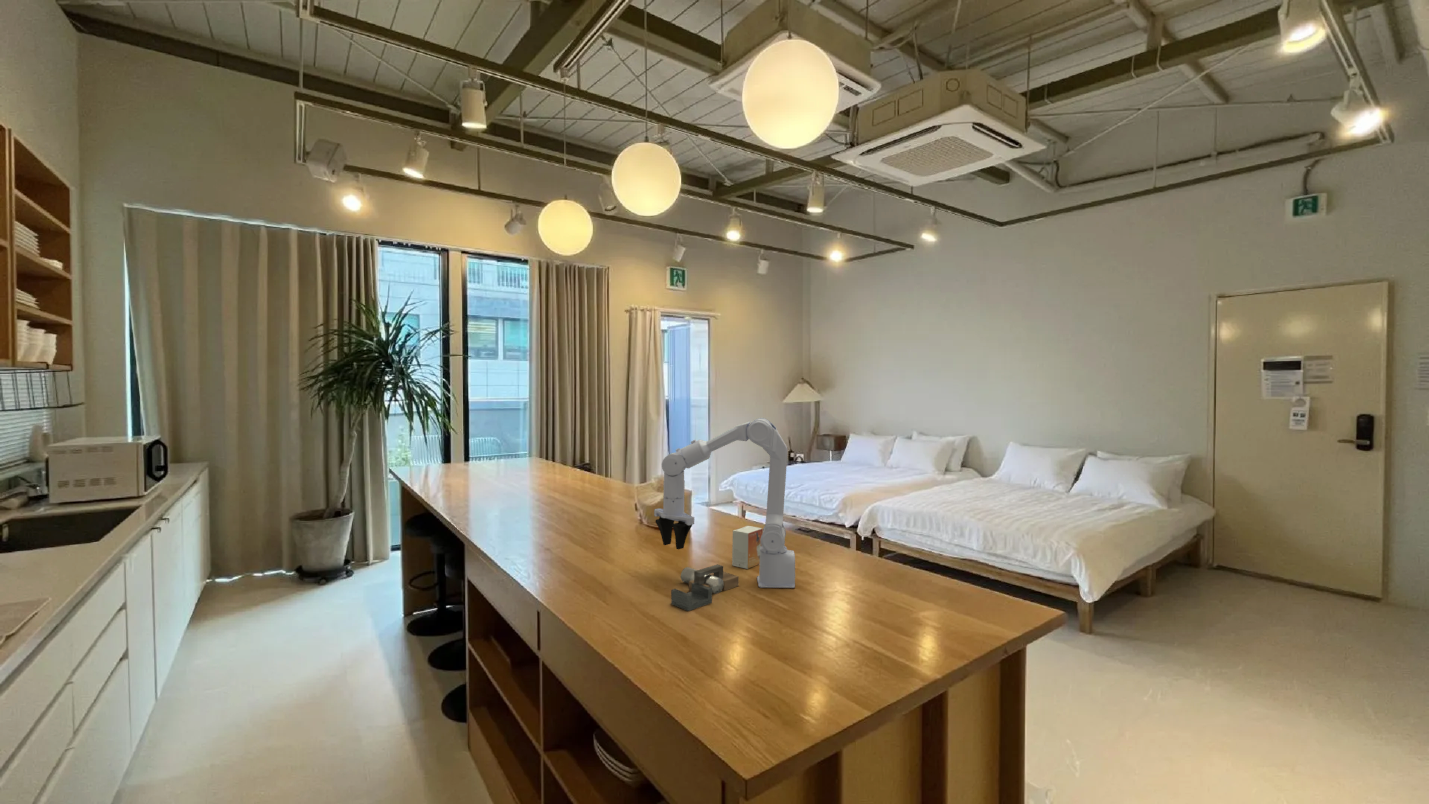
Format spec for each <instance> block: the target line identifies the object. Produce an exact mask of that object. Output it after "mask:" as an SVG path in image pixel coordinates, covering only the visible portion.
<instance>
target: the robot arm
mask: <svg viewBox="0 0 1429 804" xmlns="http://www.w3.org/2000/svg"><path fill="white" fill-rule="evenodd" d="M748 440H750V442H752V443H753V444H756V445H758V446H759V447H761V448H762V449H763V450H764V451H765V452H766V453H767V454H768V455H769V468H768V469H769V470H768V481H767V482H768V485H767V486H768V487H767V499H766V500H767V501H766V512H765V514H766V515H765V525H764V526H763V528H762V529H763V533H762V536H761V540H760V541H761V545H762V546H761V547H760V564H759V569H758V570H759V573H758V574H759V575H758V576H756V581H757V584H758V585H757V586H758V587H759V588H769V589H770V588H774V589H775V588H776V589H777V588H778V589H779V588H780V589H782V588H783V589H786V588H787V589H790V588H791V589H794V588H796V554H795V551H794V550H791V549H788V548H787V546H786V545H785V544H786V540H785V539H786V535H787V532H786V528H785V526H784V509H785V496H786V494H785V493H786V482H787V481H786V480H787V465H788V464H787V463H788V453H789V452H788V445H787V444H786V443H785V440H784V439H783V437H782V436H781V434H780V432H779V430H778V428H777V426H776V425H775V424H773V422H771V421H770V420H768V419H767V418H764V417H758V418H756V419H753V421H747V422H744V423H740V424H737V425H735V426H733V427H732V428H730V429H728V430H726V431H724V432H722V433H720V434H719V435H716V436H715V437H713V438H711V439H709V440H707V441H705V440H703V439H692V440H691V441H690V444H687V445H686V446H684V447H682V448H680V447H678V448H676V449H675V452H672V453H669V454H667V455H666V456H665V457H664V458H663V459H662V462H661V468H662V471H663V473H664V474H663V495H662V496H663V499H662V500H663V507H662V508H654V511H653V513H654V514H653V515H654V517H656V519H655V520H654V521H655V524H656V526H657V528H658V530H659V533H660V536H661V540H662V544H663V546H668V545H671V543H672V535H673V534H672V533H673V532H674V536H675V537H674V538H675V549H676V550H683V549H684V548H685V545H686V543H685V542H686V540H687V537H688V534H689V532H690V530H691V528H692V527H693V525H695V516H692V515H689V514H688V513H686V512H685V486H686V485H685V470H686V469H690V468H693V467H695V466H697V465H699V464H701V463H703V462H705V461H707V460H710V458H711V454H712V452H715V451H716V450H719V449H721V448H723V447H725V446H727V445H730V444H731V443H732V444H733V442H734V443H735V442H736V441H740V442H741V441H742V442H747V441H748ZM657 517H658V518H657ZM675 522H676V523H675Z"/></svg>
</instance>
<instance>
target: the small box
mask: <svg viewBox="0 0 1429 804" xmlns="http://www.w3.org/2000/svg"><path fill="white" fill-rule="evenodd" d="M762 534H763V528H762V527H758V526H751V525H745V526H743V527H741V528H740V527H739V528H737V529H733V530H732V545H731V546H732V549H731V550H732V551H731V553H732V555H731V557H732V558H731V563H732V564H731V566H732V567H736V568H741V569H745V570H748V569H750V568H754V567H756V566H757V565H758V566H759V565H760V547H761V546H762V545H761V541H760V540H761V536H762Z"/></svg>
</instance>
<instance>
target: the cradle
mask: <svg viewBox="0 0 1429 804" xmlns="http://www.w3.org/2000/svg"><path fill="white" fill-rule="evenodd" d="M670 590H671V593H670V594H671V595H670V596H671V597H670V604H671V605H672V606H675V607H677V608H679V609H682V610H684V611H687V612H690V611H693V610H696V609H699V608H702V607H704V606H706V605H710V604H712V603H713V593H712V588H709V587H706V586H704V585H701V584H698V583H692V591H691V592H690V591H688V592H685V591H682V590H680V589H677V588H672V589H670Z"/></svg>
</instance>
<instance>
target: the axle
mask: <svg viewBox="0 0 1429 804" xmlns="http://www.w3.org/2000/svg"><path fill="white" fill-rule="evenodd" d="M697 570H698V569H694V568H691V567H689V566H686V567H685V568H683V569H682V571H681V573H680V579H681V581H682V582H683V583H685V584H688V585H689V581H692V580H694V571H697ZM704 584H705V585H708V586H709V588H712V594H715V595H717V594H719V593H721V592H722V591H723V590H722V589H723V586H724V582H723V580H722V579H721V578H719V577H716V576H713V575H711V574H708V575H705V576H704Z"/></svg>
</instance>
